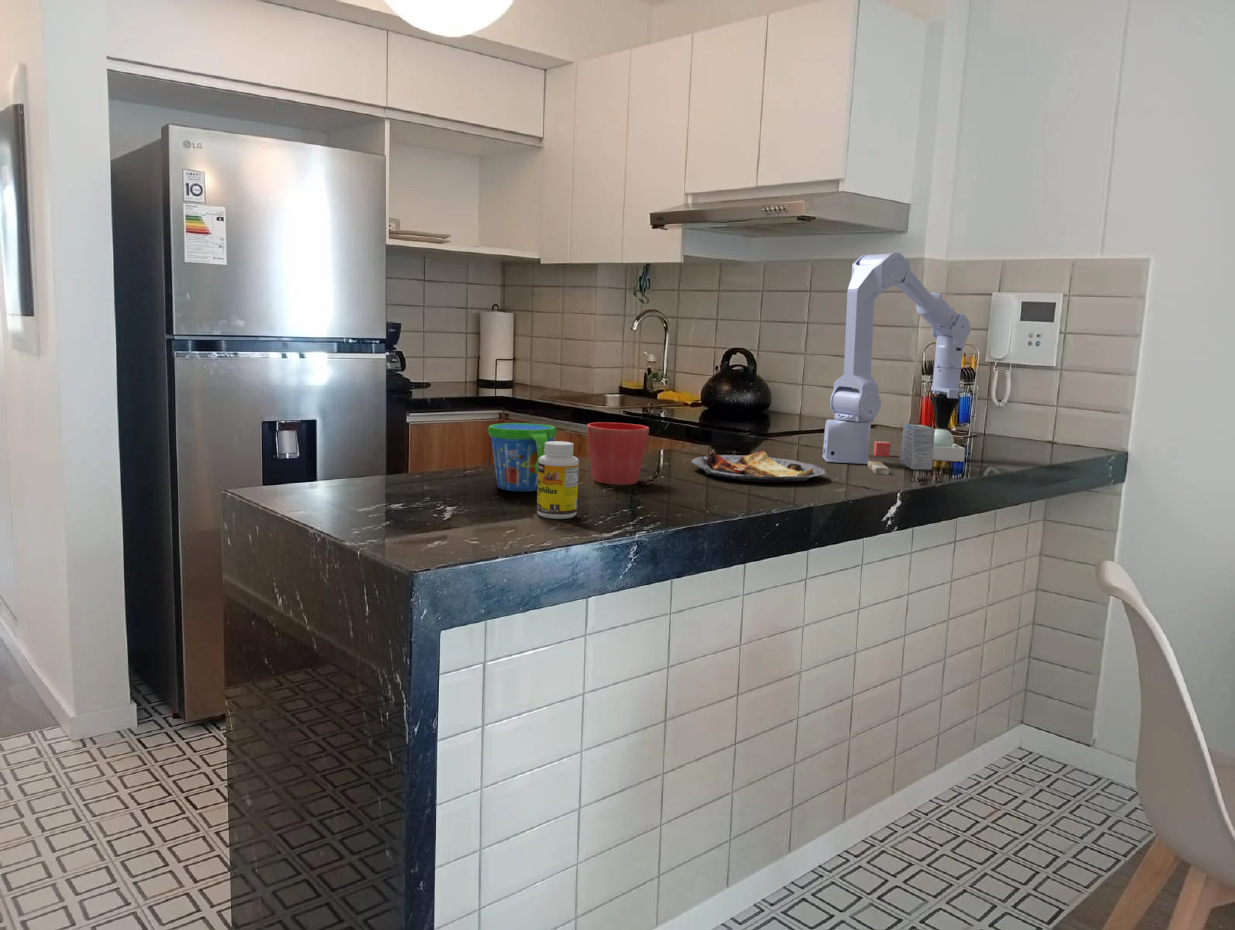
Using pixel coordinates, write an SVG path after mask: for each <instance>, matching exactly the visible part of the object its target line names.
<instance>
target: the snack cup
mask: <svg viewBox="0 0 1235 930" xmlns="http://www.w3.org/2000/svg"><path fill="white" fill-rule="evenodd" d="M487 433H488V435H489V437H490V439H491V445H492V454H493V462H494V471H495V478H496V485H497V488H499V489H500V490H503V491H509V492H520V493H521V492H525V493H526V492H528V493H529V492H537V489H538V462H539V458H540V457H541V456H543V455H546V454H545V453H544V452H545V451H544V449H545V442H550V441H554V440H555V437H556V435H557V428H556V427H555V426H554V425H551V424H550V425H548V424H543V423H542V424H541V423H527V422H526V423H525V422H522V423H521V422H518V423H517V422H511V423H509V422H507V423H503V422H502V423H495V424H490V425H489V426H488V427H487Z"/></svg>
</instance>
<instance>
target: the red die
mask: <svg viewBox="0 0 1235 930" xmlns="http://www.w3.org/2000/svg"><path fill="white" fill-rule="evenodd" d="M890 454H891V442H889V441H880V440H879V441H878V440H875V441H874V444H873V455H874V456H875V457H888V458H890Z"/></svg>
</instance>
